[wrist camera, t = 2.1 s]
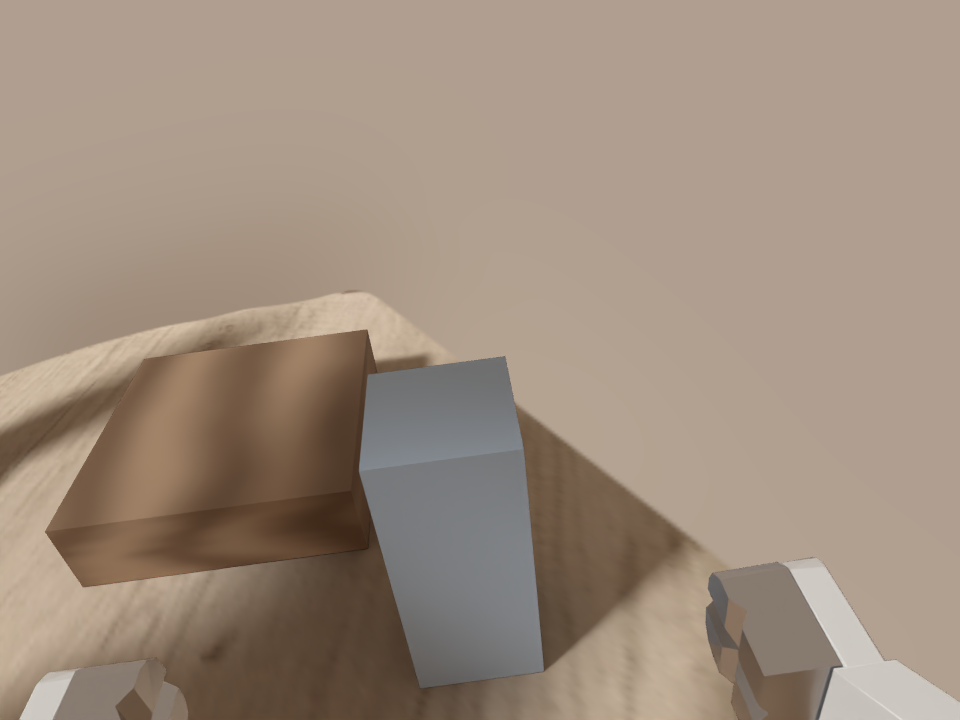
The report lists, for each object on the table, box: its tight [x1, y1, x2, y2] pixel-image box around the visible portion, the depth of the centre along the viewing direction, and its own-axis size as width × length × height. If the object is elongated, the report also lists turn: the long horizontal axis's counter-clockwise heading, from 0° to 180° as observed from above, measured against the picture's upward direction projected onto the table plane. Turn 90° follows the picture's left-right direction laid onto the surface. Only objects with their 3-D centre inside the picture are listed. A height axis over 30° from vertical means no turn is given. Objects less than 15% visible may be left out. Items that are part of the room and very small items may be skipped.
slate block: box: [359, 356, 544, 689], centre depth 26 cm, size 5×5×12 cm
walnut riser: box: [45, 330, 377, 587], centre depth 38 cm, size 14×14×4 cm
